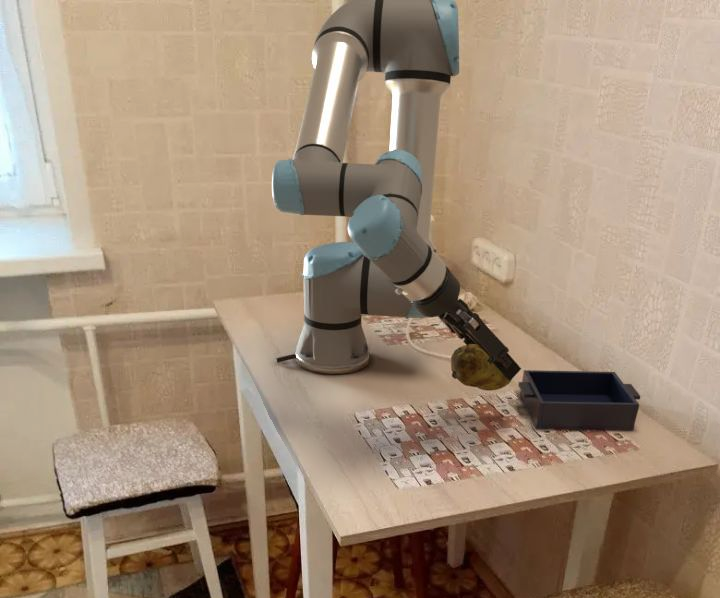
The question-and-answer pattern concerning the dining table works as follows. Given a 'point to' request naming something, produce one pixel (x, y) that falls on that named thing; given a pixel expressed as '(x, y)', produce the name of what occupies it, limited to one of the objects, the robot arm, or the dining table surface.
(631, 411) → the roasting pan
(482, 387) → the potato
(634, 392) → the pan handles
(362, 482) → the dining table surface
